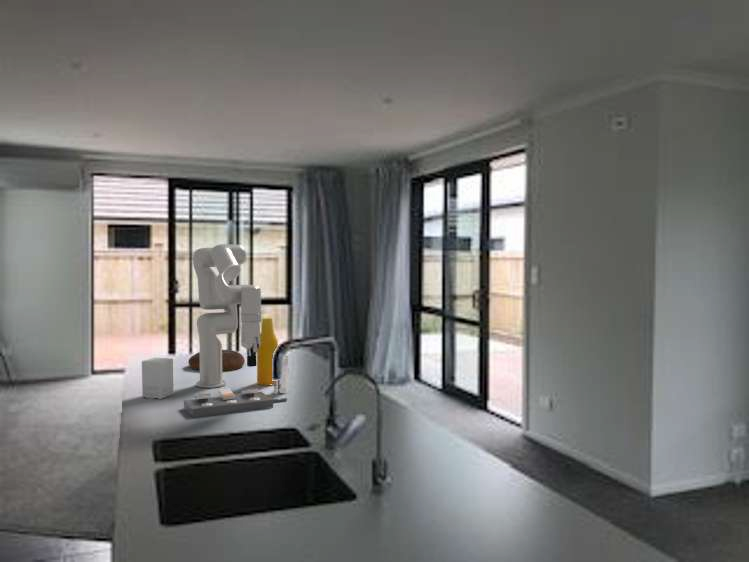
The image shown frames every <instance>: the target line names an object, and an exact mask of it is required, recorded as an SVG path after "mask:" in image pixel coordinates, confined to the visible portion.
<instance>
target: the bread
mask: <svg viewBox="0 0 749 562" xmlns="http://www.w3.org/2000/svg"><path fill="white" fill-rule="evenodd" d="M187 363H188V366H189V367H190V368H192V369H194V370H196V371H199V372H200V351H199V352H196V353H194V355H192V356H191V357H190V358H189V359H188V362H187ZM244 364H245V357H244V356H243V355H242V354H241V353H240V352H237V351H235V350H232V349H222V372H228V371H230V370H231V371H234V370H238V369H241V368H242V367H243V366H244Z"/></svg>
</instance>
